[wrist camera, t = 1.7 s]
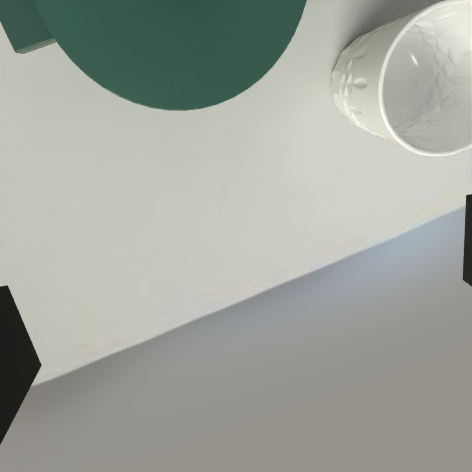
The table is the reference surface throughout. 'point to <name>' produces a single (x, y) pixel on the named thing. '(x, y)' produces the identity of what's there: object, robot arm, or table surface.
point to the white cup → (412, 80)
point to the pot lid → (173, 45)
